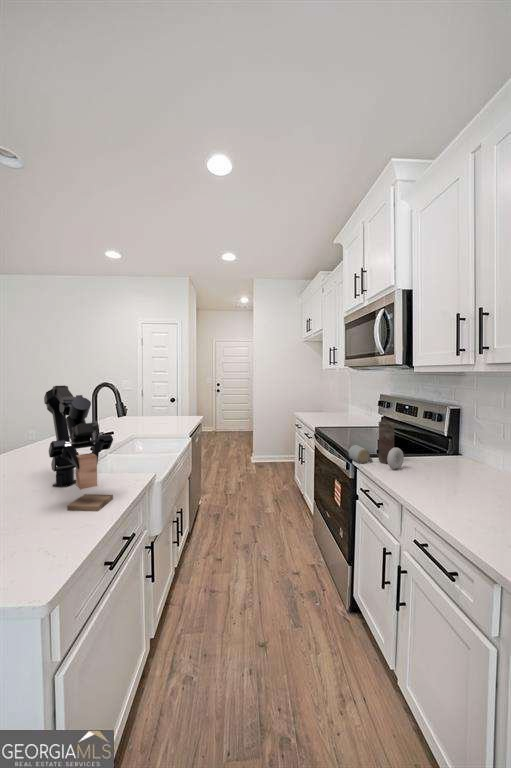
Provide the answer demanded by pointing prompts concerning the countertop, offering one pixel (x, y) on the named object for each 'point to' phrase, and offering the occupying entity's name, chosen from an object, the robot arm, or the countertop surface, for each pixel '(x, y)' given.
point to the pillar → (86, 471)
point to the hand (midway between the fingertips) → (87, 466)
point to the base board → (90, 502)
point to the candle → (385, 440)
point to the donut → (394, 454)
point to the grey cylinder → (359, 454)
